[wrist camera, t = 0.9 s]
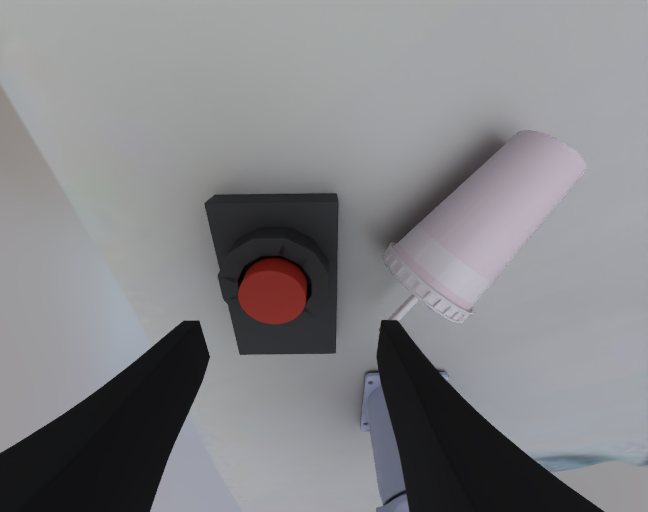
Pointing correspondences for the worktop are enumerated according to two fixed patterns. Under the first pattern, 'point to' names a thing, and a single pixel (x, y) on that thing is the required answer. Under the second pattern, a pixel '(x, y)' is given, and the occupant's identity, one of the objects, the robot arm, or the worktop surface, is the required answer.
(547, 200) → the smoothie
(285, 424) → the worktop surface
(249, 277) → the power button
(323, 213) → the black base plate
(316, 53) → the worktop surface
